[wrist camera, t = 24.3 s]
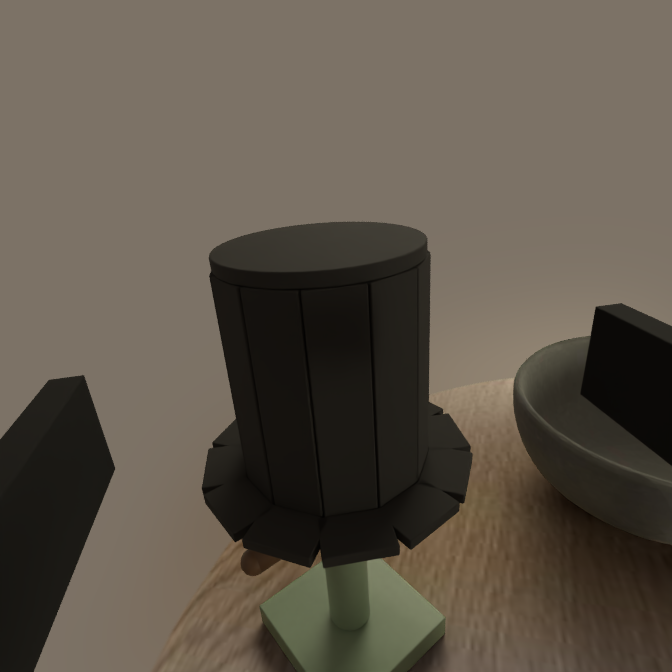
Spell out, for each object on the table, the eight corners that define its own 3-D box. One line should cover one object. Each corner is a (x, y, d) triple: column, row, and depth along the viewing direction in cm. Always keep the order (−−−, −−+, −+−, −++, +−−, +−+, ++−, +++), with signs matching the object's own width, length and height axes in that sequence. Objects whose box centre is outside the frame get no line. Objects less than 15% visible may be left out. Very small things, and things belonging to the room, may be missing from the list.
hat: (305, 636, 15) (259, 329, 10) (166, 452, 24) (112, 251, 20) (525, 458, 21) (552, 230, 17) (351, 369, 31) (341, 207, 26)
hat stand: (313, 768, 22) (236, 324, 12) (236, 640, 28) (144, 271, 18) (464, 614, 28) (490, 241, 19) (375, 536, 34) (361, 222, 25)
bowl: (628, 402, 48) (649, 312, 43) (900, 559, 30) (978, 432, 26) (458, 450, 43) (463, 353, 38) (661, 673, 25) (711, 539, 21)
